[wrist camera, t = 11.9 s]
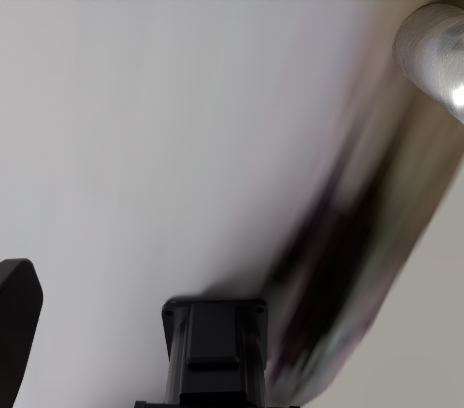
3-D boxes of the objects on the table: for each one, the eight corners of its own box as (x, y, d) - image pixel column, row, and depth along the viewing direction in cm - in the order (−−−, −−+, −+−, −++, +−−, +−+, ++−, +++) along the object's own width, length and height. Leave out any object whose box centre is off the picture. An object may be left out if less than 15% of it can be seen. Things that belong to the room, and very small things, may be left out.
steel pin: (457, 79, 19) (540, 132, 14) (386, 81, 19) (444, 135, 14) (477, 2, 18) (579, 30, 13) (399, 4, 18) (470, 34, 13)
